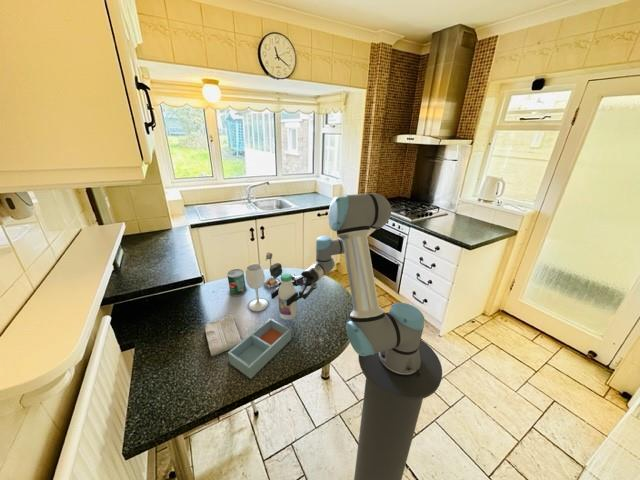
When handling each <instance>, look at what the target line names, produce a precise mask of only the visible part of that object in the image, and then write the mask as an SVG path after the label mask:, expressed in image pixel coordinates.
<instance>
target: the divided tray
mask: <svg viewBox="0 0 640 480" xmlns="http://www.w3.org/2000/svg"><path fill="white" fill-rule="evenodd" d="M291 340H292V329H291V328H289V327H288V326H286V325H284V324H282V323H280V322H279V321H277V320H275V319H273V318H271V317H269V319H268V320H266V321H265V322H264V323H262V324H261V325H260V326H259V327H258V328H256V329H255V330H254V331H252V332H251V333H250V334H249V335H247V336H246V337H245V338H244V339H243V340H241V342H240V343H239V344H238V345H236V346H235V347H234V348H233V349H231V350H228V352H227V356H228V362H229V364H230V365H231V366H232V367H234V368H235V369H237V370H238V371H240V373H242V374H244V375H245V376H246V377H247V378H249V379H250V380H252V379H253V378H254V377H255V375H257V374H258V373H259V372H260V371H261V369H263V368H264V367H265V366H266V365H267V364H268V363H269V362H270V361H271V360H272V359H273V358H274V357H275V356H276V355H277V354H278V353H279V352H280V351H281V350H282V349H283V348H284V347H286V345H288V343H289V342H290V341H291Z"/></svg>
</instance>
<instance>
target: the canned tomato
mask: <svg viewBox="0 0 640 480" xmlns="http://www.w3.org/2000/svg"><path fill="white" fill-rule="evenodd" d="M244 273H245V272H244V270H243V269H241V268H233V269H231V270H229V271H228V272H227V273H226V276H227V281H228V286H229V293H230V295H232V296H235V297H237V296H239V297H240V296H242V295H244V294H245V293H246V292H247V287H246V278H245V274H244Z"/></svg>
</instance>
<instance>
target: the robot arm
mask: <svg viewBox="0 0 640 480" xmlns="http://www.w3.org/2000/svg"><path fill="white" fill-rule="evenodd" d="M391 216H392V207H391V203H390V202H389V201H388V199H387V198H386V197H385V196H383V195H382V194H379V193H376V192H370V193H357V194H344V195H339V196H335V197H334V198H333V199H332V200H331V202H330V205H329V209H328V224H329V225H328V226H329V227H330V230H331V231H333V232H336V235H337V239H332V237H331V236H328V235H321V236H318V237H317V238H316V240H315V263H313V264H312V265H311V266H309V267H308V268H306V269H305V270H303V272H301V274H300V275H298V276H297V275H295V274H294V273H293V274H291V275H292V284H293V285H294V287H300V289H299V291H298V292H297V291H296V293H295V294H294V295H293V296H291V297H290V298H289V299H287V300H286V301H287V306H289V305H291V304H292V303H293V302H294V301H295V302H296V301H297V302H298V301H299V300H300V299H303V300H307V298H308V297H309V296H310V295H311V293H312V292H313V291H314V290H316V289H317V282H318V281H320V280H321V279H322V278H323V277H324V276H326V275H327V274H328V273H330V272H331V271H332V270H333V269H334V267H335V264H336V262H335V259H334V258H333V257H332V256H336V255H342V254H344V258H345V263H346V271H347V276H348V282H349V283H348V284H349V290H350V296H351V301H352V308H353V309H352V311H351V312H350V314H349V317H350V320H348V321H347V322H346V324H345V331H346V336H347V339H348V340H349V343H350V345H351V347H352V349H353V351H355V353H356V354H357V355H358V356H359V355H360V356H368V355H374V354H376V353H379V360H380V362H381V364H382V365H383V367H384V368H385V369H386V370H388V371H389V372H391V373H393V374H395V375H398V376H412V375H414V374H415V373H418V375H419V376H420V375H421V374H420V372H419V371H418V370H419V368H420V364H421V358H420V353H419V344H420V340H422V335H423V333H424V328H425V316H424V314H423V313H422V312H421V310H420V309H419V308H417V307H415V306H414V305H412V304H409V303H407V302H401V301H400V302H395V303H392V304H391V306H390V307H389V311H387V312H385V310H384V309H383V307H381V306H380V305H379V299H378V294H377V293H378V292H377V288H376V281H375V275H374V268H373V264H372V257H371V252H370V251H371V250H370V245H369V240H368V237H369V236H371V234H373V233H374V232H375V231H376V230H379V229H381V228H383V227H384V226H385V225H386V224H387V223H388V222H389V221H390V219H391ZM277 286H278V287H276V288H275V289H274V290H273V291H272V292H271V293H270V297H271V300H274V299H275V298H277V297H278V291H279V288H280V286H281V281H279V283H278V284H277Z"/></svg>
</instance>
